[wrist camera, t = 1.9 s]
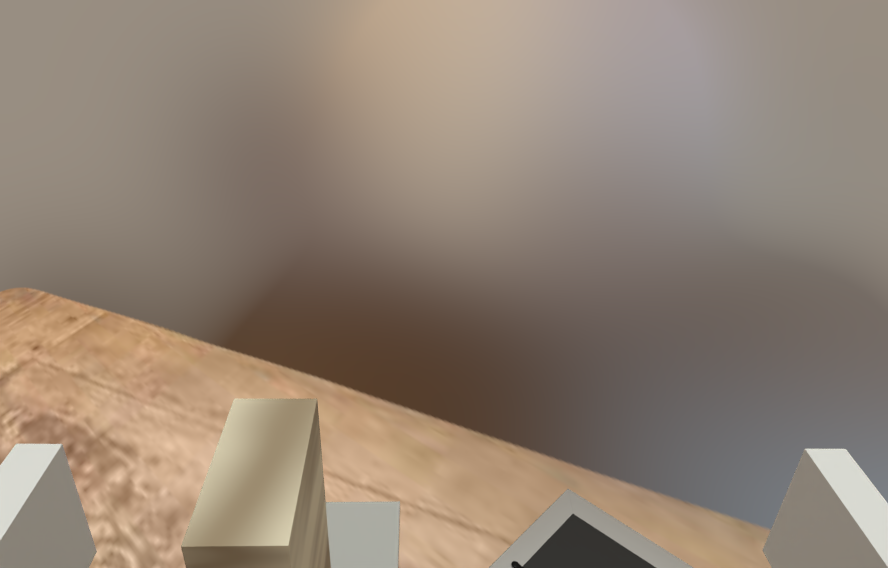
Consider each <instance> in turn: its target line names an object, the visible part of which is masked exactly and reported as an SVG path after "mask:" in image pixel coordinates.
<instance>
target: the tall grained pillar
mask: <svg viewBox="0 0 888 568" xmlns="http://www.w3.org/2000/svg"><path fill="white" fill-rule="evenodd" d="M181 548H182V552H183V556H184V561H185V565H186V568H331V563H330V551H329V538H328V526H327V514H326V501H325V489H324V477H323V465H322V452H321V440H320V428H319V415H318V403H317V399H234V401H233V404H232V406H231V409H230V412H229V415H228V418H227V420H226V423H225V426H224V429H223V431H222V434H221V437H220V440H219V443H218V445H217V448H216V451H215V454H214V456H213V459H212V462H211V465H210V468H209V470H208V473H207V476H206V479H205V482H204V484H203V487H202V490H201V493H200V495H199V498H198V501H197V504H196V507H195V509H194V512H193V515H192V518H191V520H190V523H189V526H188V529H187V532H186V534H185V537H184V540H183V543H182V545H181Z"/></svg>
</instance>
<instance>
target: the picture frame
mask: <svg viewBox="0 0 888 568" xmlns="http://www.w3.org/2000/svg"><path fill="white" fill-rule="evenodd" d="M489 568H693V567H692V566H690V565H688V564H687V563H685V562H684V561H682V560H680V559H679V558H677V557H676V556H674V555H673V554H671V553H669V552H668V551H666V550H665V549H663V548H661V547H660V546H658V545H657V544H655V543H653V542H652V541H650V540H649V539H647V538H646V537H644V536H642V535H641V534H639V533H638V532H636V531H634V530H633V529H631V528H630V527H628V526H626V525H625V524H623V523H622V522H620V521H619V520H617V519H615V518H614V517H612V516H611V515H609V514H607V513H606V512H604V511H603V510H601V509H599V508H598V507H596V506H595V505H593V504H591V503H590V502H588V501H587V500H585V499H584V498H582V497H580V496H579V495H577V494H576V493H574V492H572V491H571V490H569V489H567V490H566V491H565V492H564V493H563V494H562V495H561V496H560V497H559V498H558V499H557V500H556V501H555V502H554V503H553V504H552V505H551V506H550V507H549V508H548V509H547V510H546V511H545V512H544V513H543V514H542V515H541V516H540V517H539V518H538V519H537V520H536V521H535V522H534V523H533V524H532V525H531V526H530V527H529V528H528V529H527V530H526V531H525V532H524V533H523V534H522V535H521V536H520V537H519V538H518V539H517V540H516V541H515V542H514V543H513V544H512V545H511V546H510V547H509V548H508V549H507V550H506V551H505V552H504V553H503V554H502V555H501V556H500V557H499V558H498V559H497V560H496V561H495V562H494V563H493V564H492V565H491V566H490V567H489Z"/></svg>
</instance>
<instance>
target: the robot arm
mask: <svg viewBox="0 0 888 568" xmlns="http://www.w3.org/2000/svg"><path fill="white" fill-rule="evenodd" d="M96 552H97V551H96V548H95V545H94V541H93V538H92V535H91V532H90V529H89V526H88V523H87V520H86V517H85V513H84V510H83V507H82V504H81V501H80V498H79V495H78V492H77V489H76V485H75V482H74V479H73V476H72V473H71V470H70V467H69V464H68V461H67V457H66V454H65V451H64V448H63V445H62V444H16V445H15V446H14V447H13V449H12V450H11V452H10V453H9V454H8V456H7V457H6V458H5V460H4V461H3V463H2V464H1V465H0V568H89V566H90V564H91V562H92V560H93V558H94V556H95V554H96ZM763 552H764V554H765V556H766V558H767V560H768V561H769V563H770V565H771V567H772V568H888V503H887V502H886V501H885V499H884V498H883V497H882V496H881V494H880V493H879V492H878V490H877V489H876V488H875V486H874V485H873V484H872V483H871V481H870V480H869V479H868V477H867V476H866V475H865V473H864V472H863V471H862V470H861V468H860V467H859V466H858V464H857V463H856V462H855V461H854V459H853V458H852V457H851V455H850V454H849V453H848V451H847V450H846V449H805V450H804V452H803V454H802V457H801V459H800V462H799V464H798V466H797V469H796V471H795V474H794V476H793V478H792V481H791V483H790V486H789V488H788V490H787V493H786V495H785V498H784V500H783V502H782V505H781V507H780V510H779V512H778V514H777V517H776V519H775V522H774V524H773V526H772V529H771V531H770V534H769V536H768V538H767V541H766V543H765V546H764V548H763Z"/></svg>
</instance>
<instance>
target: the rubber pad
mask: <svg viewBox="0 0 888 568" xmlns="http://www.w3.org/2000/svg"><path fill="white" fill-rule="evenodd" d="M326 514H327V526H328V538H329V551H330V563H331V568H398V553H399V516H400V502H326Z"/></svg>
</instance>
